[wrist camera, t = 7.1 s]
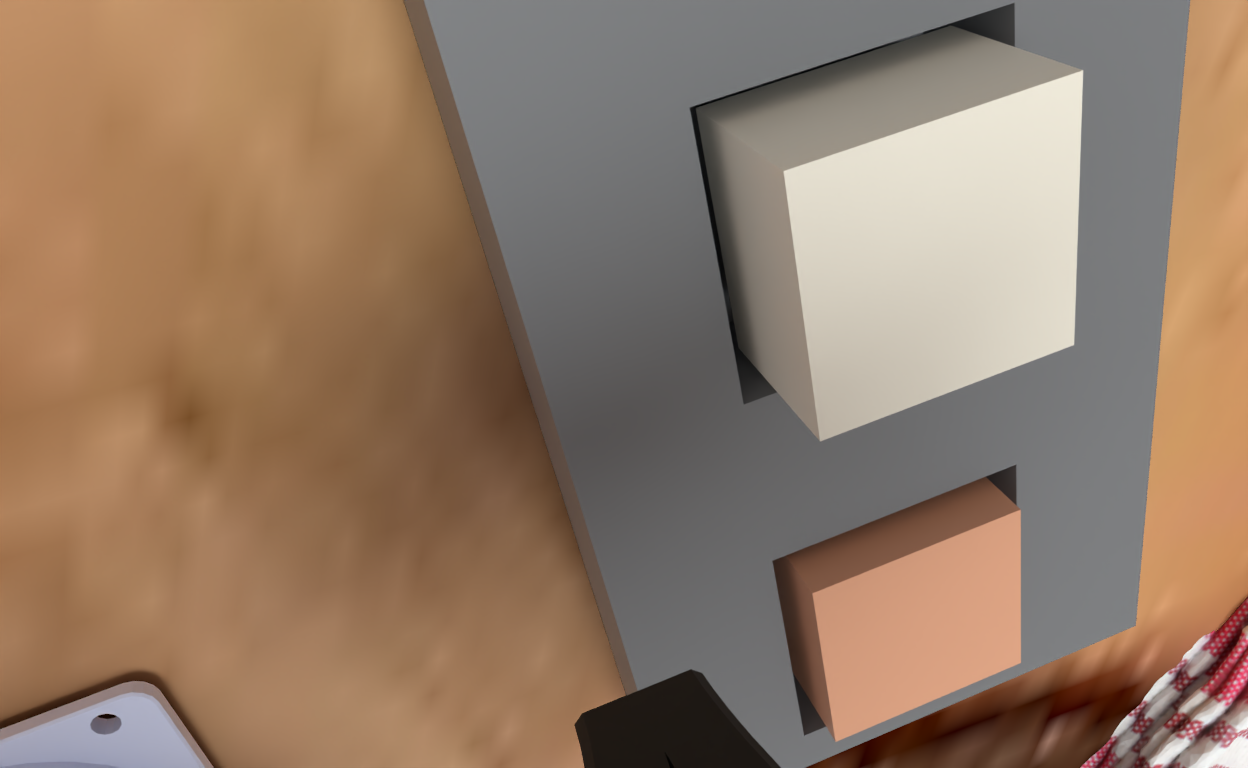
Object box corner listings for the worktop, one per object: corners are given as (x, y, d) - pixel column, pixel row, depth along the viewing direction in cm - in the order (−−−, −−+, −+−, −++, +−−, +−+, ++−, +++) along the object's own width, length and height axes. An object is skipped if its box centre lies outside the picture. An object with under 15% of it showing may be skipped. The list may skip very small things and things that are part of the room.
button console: (627, 698, 24) (678, 821, 21) (169, -730, 11) (141, -909, 8) (1036, 531, 26) (1135, 625, 23) (1051, -891, 13) (1284, -1088, 10)
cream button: (738, 348, 17) (819, 441, 15) (695, 107, 15) (783, 171, 13) (960, 267, 18) (1073, 344, 15) (951, 26, 16) (1082, 70, 13)
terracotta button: (772, 639, 23) (835, 741, 21) (745, 497, 21) (811, 593, 18) (939, 571, 24) (1020, 663, 21) (931, 426, 21) (1020, 509, 19)
